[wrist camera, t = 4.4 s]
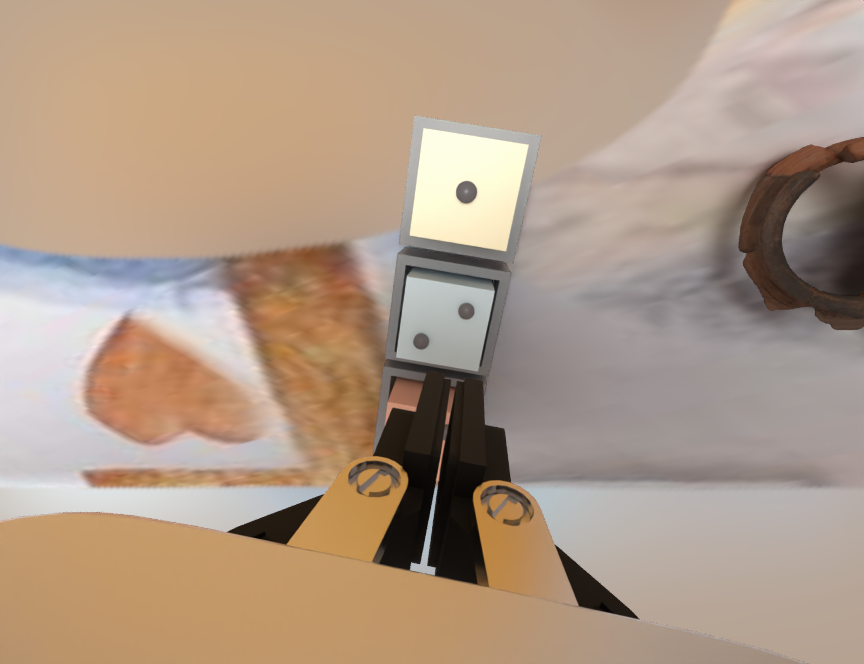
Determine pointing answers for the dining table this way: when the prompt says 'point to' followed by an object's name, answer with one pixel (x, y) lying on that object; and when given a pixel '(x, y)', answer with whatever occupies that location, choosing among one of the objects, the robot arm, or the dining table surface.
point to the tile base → (410, 372)
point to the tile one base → (522, 198)
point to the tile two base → (453, 265)
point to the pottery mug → (767, 228)
